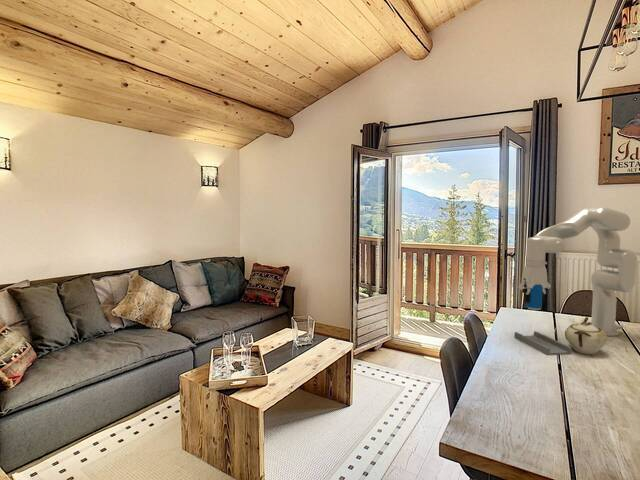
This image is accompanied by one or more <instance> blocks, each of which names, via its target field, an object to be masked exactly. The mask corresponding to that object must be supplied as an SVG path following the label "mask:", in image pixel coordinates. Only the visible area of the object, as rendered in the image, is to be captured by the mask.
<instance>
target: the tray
mask: <svg viewBox="0 0 640 480" xmlns="http://www.w3.org/2000/svg"><path fill="white" fill-rule="evenodd" d="M514 339H515V340H516V339H517V340H518V341H520V342H522V343H523V344H526V345H527V346H529V347H532V348H533V349H534V350H537V351H539V352H541V353H543V354H544V355H546V356H555V355H557V356H558V355H572V351H573V348H572V346H570V345H568V344H564V343H562V342H561V341H558V340H556V339H554V338H551V337H549V336H547V335H545V334H543V333H540V332H539V331H535V330H534V331H533V334H532V335H523V334H521V333H520V332H518V331H514Z"/></svg>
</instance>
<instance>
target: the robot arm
mask: <svg viewBox="0 0 640 480" xmlns="http://www.w3.org/2000/svg"><path fill="white" fill-rule="evenodd" d="M630 225H631V220H630V217H629V215H628V214H626V213H625V212H621V211H618V210H615V209H612V208H608V207H601V206H600V207H584V208H580V209H579V210H578V211H577V212H575V213H574V214H572V215H571V216H569V218H567V219H566V220H564V221H562V222H560V223H557V224H554V225H551V226H549V227H546V228H544V229H543V230H541V231H540V232H537V233H536V234H535V235H534V236H532V237H531V236H530V237H528V238H527V240H526V261H525V262H526V264H525V265H524V267H523V270H522V275H521V282H520V283H519V284H518V285H517V288H519V290H520V291H521V292H522V294H523V302H524V303H525V304H526V303H530V295H529V292H530V290H531V289H532V288H533V286H534V285H535V284H541V285H542V286H543V291H542V304H544V303H545V295H546V294H547V292H548V291H549V289H550V288H551V287H552V285H551V284H550V283H549V282H548V272H547V268H546V265H548V262H547V261H546V254H547V253H548V254H549V253H550V254H558V253H561V252H562V251H563V250H564V248H565V242H564V239H571V238H575V237H577V236H579V235H580V234H581V233H583V232H584V231H585V230H587V229H588V228H589V227H591V229H593V230H594V231H595V233H596V234H597V237H598V246H597V247H598V248H597V255H596V256H597V257H596V259H597V264H598V265H599V266H601V267H603V269H601V268H600V269H597V270H595V271H593V272H592V274H591V276H590V281H591V286H592V287H591V288H592V304H591V322H590V323H592V325H593V326H596V327H598V328H600V329H601V330H602V331H603V332H604V333H605V334H606V336H607V337H609V336H610V337H617V336H618V335H619V331H618V330H620V329H624V325H623V324H616V314H617V301H618V300H617V296H616V294H615V292H620V293H630V292H631V291H633V290H634V288H635V286H636V279H637V270H638V256H637V255H636V252H634V251H632V250H630V249H623V248H621V236H620V234H619V233H618V232H623V231H625V230H627V229H629V227H630ZM604 267H605V268H610V269H611V268H612V269H616V270H610V269H604ZM617 269H618V270H617Z"/></svg>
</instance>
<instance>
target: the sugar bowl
mask: <svg viewBox="0 0 640 480" xmlns="http://www.w3.org/2000/svg"><path fill="white" fill-rule="evenodd" d="M588 320H589V317H588V316H586V317H585V318H584V319H583V321H582V322H578V323H572V324H570V325H569V326H568V327H566V329H565V331H564V337H565V339H566V341H567V343H568V344H569V346H570V347H572V350H574V351H576V352H578V353H581V354H584V355H585V354H586V355H595V354H597V353H598V352H599V351H600V350H601V349H603V347H605V345H606V344H607V342H608V338H607V337H608V336H606V334H605V333H604V332H603V331H602V330H601V329H600V328H598V327H596V326H593V325H592V323H591V322H590V321H589V322H588Z"/></svg>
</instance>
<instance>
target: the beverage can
mask: <svg viewBox="0 0 640 480" xmlns="http://www.w3.org/2000/svg"><path fill="white" fill-rule="evenodd" d="M542 291H543V286H542V285H541V284H535V285H534V286H533V288H532V289H531V290H530V292H529V295H530V303H526V302H525V307H526V308H527V309H529V310H535V311H539V310H542V307H543V303H542Z"/></svg>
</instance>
